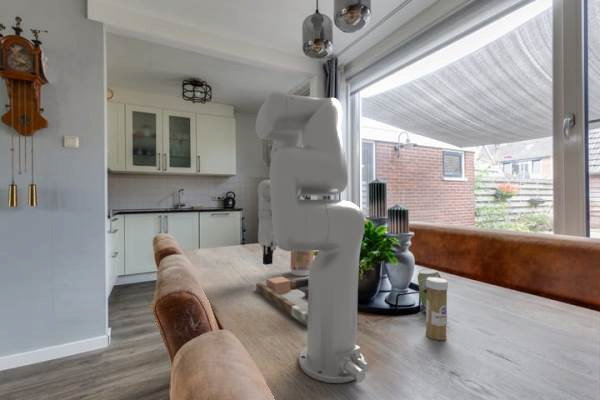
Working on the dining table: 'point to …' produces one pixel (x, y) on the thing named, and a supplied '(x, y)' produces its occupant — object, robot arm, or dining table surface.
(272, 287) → the block
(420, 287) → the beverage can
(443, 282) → the sprinkles bottle
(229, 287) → the dining table surface
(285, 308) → the trap lane
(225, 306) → the dining table surface
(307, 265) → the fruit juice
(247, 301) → the dining table surface
